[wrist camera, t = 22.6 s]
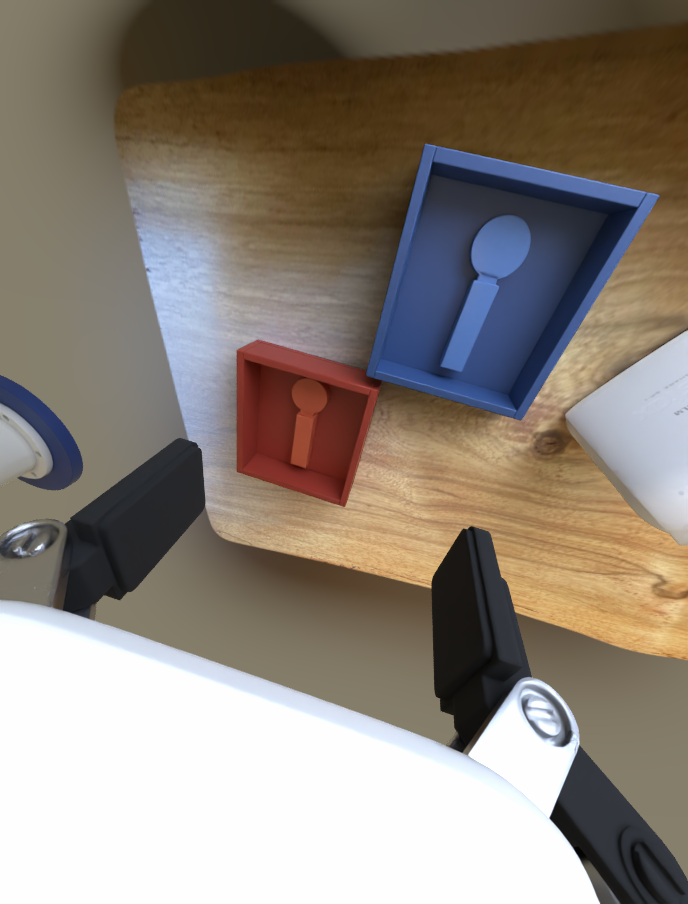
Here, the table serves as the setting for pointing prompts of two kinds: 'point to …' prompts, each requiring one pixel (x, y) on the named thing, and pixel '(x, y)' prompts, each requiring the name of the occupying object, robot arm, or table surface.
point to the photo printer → (643, 435)
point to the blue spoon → (485, 282)
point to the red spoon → (307, 416)
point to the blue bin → (519, 295)
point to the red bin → (274, 417)
